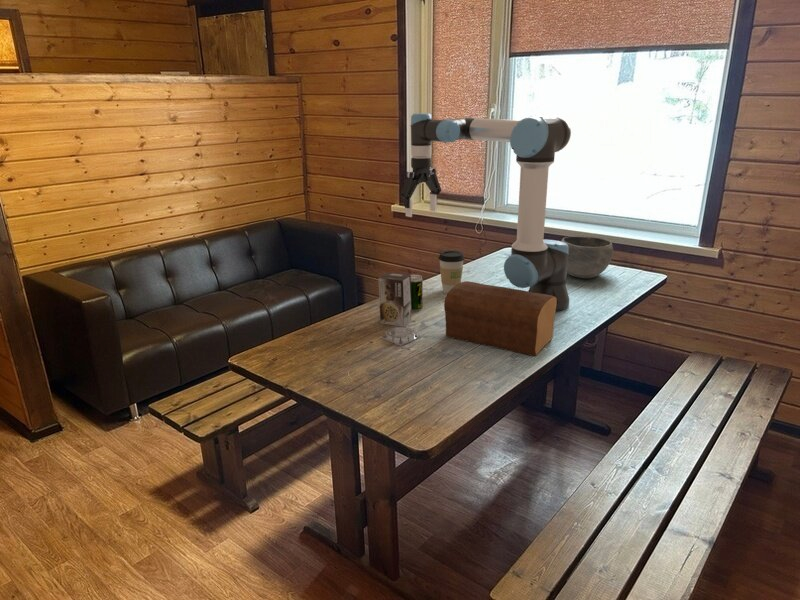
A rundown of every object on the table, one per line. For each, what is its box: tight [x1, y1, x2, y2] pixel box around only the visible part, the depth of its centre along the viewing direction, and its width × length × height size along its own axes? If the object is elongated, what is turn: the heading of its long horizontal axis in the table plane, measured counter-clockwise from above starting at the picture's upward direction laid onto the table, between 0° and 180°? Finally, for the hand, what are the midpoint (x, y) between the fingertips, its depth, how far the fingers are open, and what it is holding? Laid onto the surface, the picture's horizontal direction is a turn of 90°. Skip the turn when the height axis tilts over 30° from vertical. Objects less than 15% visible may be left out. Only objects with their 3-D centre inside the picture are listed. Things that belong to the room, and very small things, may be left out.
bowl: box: [560, 235, 614, 279], centre depth 235 cm, size 21×21×15 cm
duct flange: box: [380, 326, 422, 347], centre depth 181 cm, size 9×9×2 cm
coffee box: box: [378, 272, 412, 327], centre depth 191 cm, size 9×6×16 cm
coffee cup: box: [438, 250, 466, 295], centre depth 220 cm, size 10×10×15 cm
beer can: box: [410, 274, 424, 312], centre depth 203 cm, size 5×5×12 cm
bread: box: [443, 280, 557, 357], centre depth 178 cm, size 18×30×16 cm, turn 58°
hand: (421, 213), depth 222 cm, fingers open, 13 cm apart
